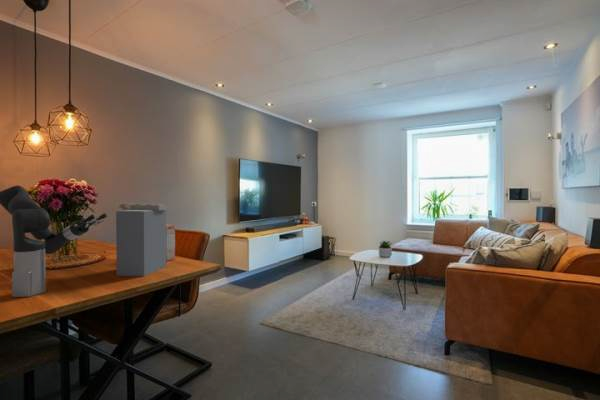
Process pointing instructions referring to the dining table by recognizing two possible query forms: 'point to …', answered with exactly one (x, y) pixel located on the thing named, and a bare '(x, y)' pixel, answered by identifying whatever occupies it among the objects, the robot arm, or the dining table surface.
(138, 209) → the chute stand
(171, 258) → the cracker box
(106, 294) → the dining table surface
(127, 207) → the striped beige bar
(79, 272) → the dining table surface
